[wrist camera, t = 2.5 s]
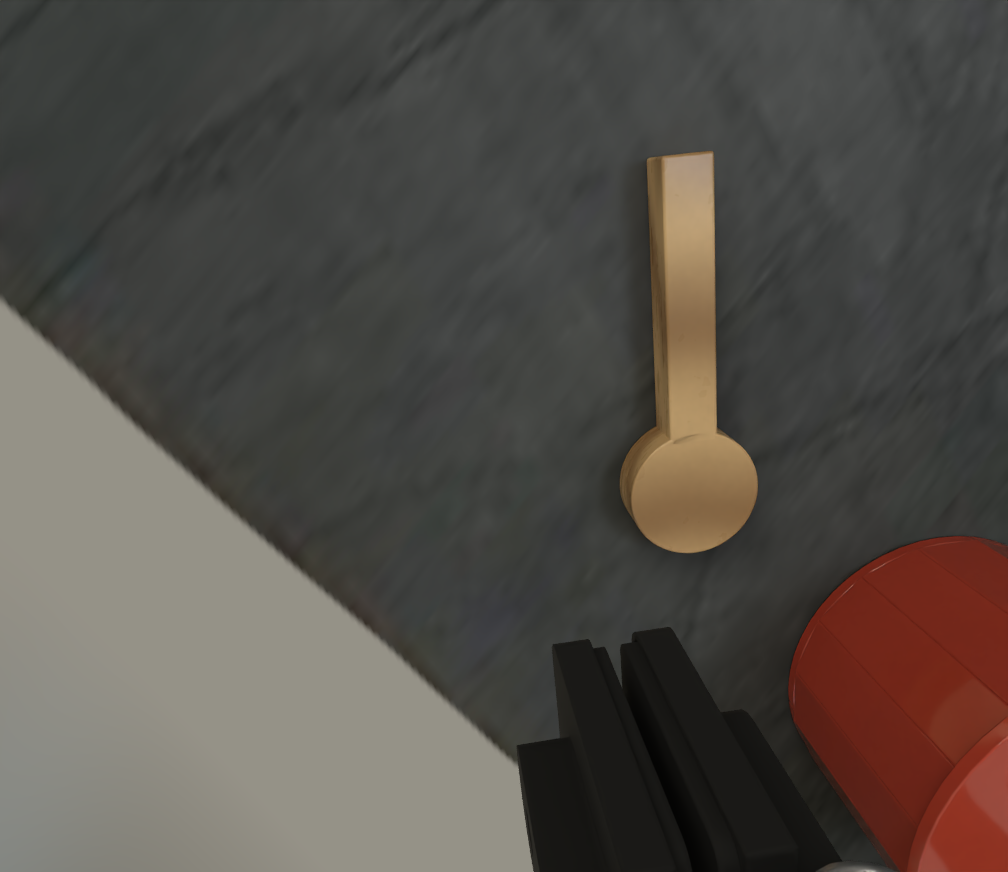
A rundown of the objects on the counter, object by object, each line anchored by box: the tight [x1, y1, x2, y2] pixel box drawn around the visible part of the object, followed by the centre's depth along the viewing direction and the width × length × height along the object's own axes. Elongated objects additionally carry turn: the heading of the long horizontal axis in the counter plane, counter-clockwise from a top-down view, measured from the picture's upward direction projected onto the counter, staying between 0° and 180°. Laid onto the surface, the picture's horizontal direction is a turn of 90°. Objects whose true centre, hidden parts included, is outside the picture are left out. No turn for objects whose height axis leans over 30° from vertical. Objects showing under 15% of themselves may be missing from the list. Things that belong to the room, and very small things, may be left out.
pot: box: [788, 536, 1008, 872], centre depth 27 cm, size 12×12×8 cm
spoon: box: [620, 151, 758, 553], centre depth 25 cm, size 13×4×2 cm, turn 6°
